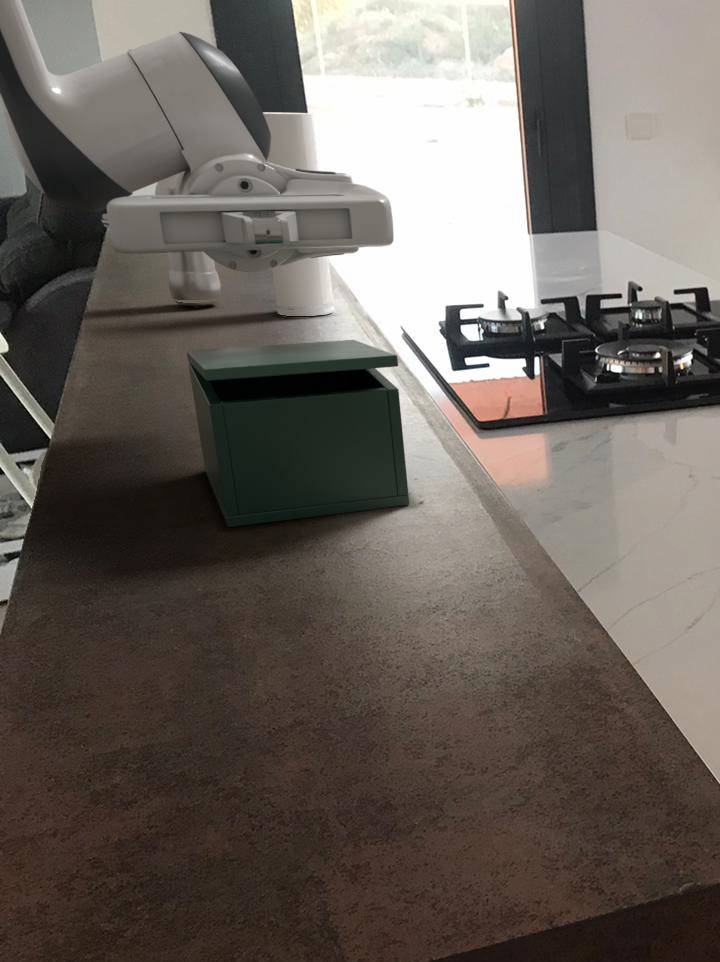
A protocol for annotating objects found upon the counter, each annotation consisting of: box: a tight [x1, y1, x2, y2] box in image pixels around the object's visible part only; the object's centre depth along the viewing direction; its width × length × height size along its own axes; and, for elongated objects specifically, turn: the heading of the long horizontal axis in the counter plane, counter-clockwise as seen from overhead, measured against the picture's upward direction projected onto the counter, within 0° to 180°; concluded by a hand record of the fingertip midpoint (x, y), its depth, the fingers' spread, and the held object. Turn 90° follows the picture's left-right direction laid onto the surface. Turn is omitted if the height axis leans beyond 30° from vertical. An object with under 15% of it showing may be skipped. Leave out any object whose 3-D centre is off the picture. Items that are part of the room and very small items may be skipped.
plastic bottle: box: [154, 174, 222, 308], centre depth 170 cm, size 6×7×20 cm
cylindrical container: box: [262, 111, 335, 317], centre depth 167 cm, size 7×7×25 cm
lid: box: [186, 339, 399, 381], centre depth 95 cm, size 16×13×1 cm
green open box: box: [187, 361, 410, 528], centre depth 97 cm, size 16×13×9 cm
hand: (268, 232), depth 93 cm, fingers closed
